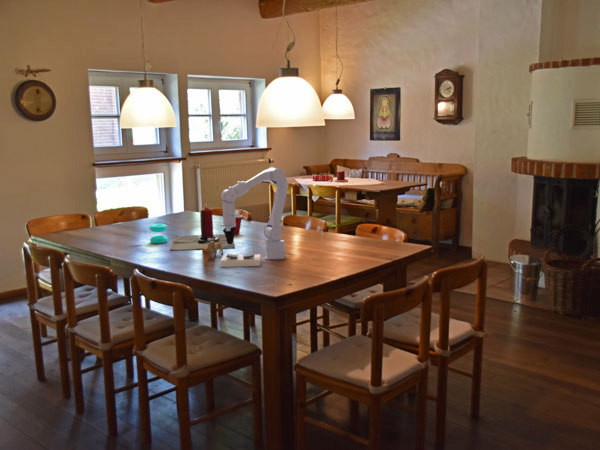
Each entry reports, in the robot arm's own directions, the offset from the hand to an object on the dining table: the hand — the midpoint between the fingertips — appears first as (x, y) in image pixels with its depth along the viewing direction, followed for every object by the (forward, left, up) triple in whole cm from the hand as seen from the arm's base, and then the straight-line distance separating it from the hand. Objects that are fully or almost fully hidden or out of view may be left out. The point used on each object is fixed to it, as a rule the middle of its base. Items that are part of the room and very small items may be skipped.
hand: (230, 243), depth 269 cm
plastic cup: (+5, -72, -10) cm, 73 cm away
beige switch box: (-5, +2, -9) cm, 11 cm away
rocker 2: (-9, +4, -6) cm, 11 cm away
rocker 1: (-1, +4, -6) cm, 7 cm away
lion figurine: (+9, -13, -10) cm, 19 cm away
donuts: (+46, -53, -10) cm, 71 cm away
